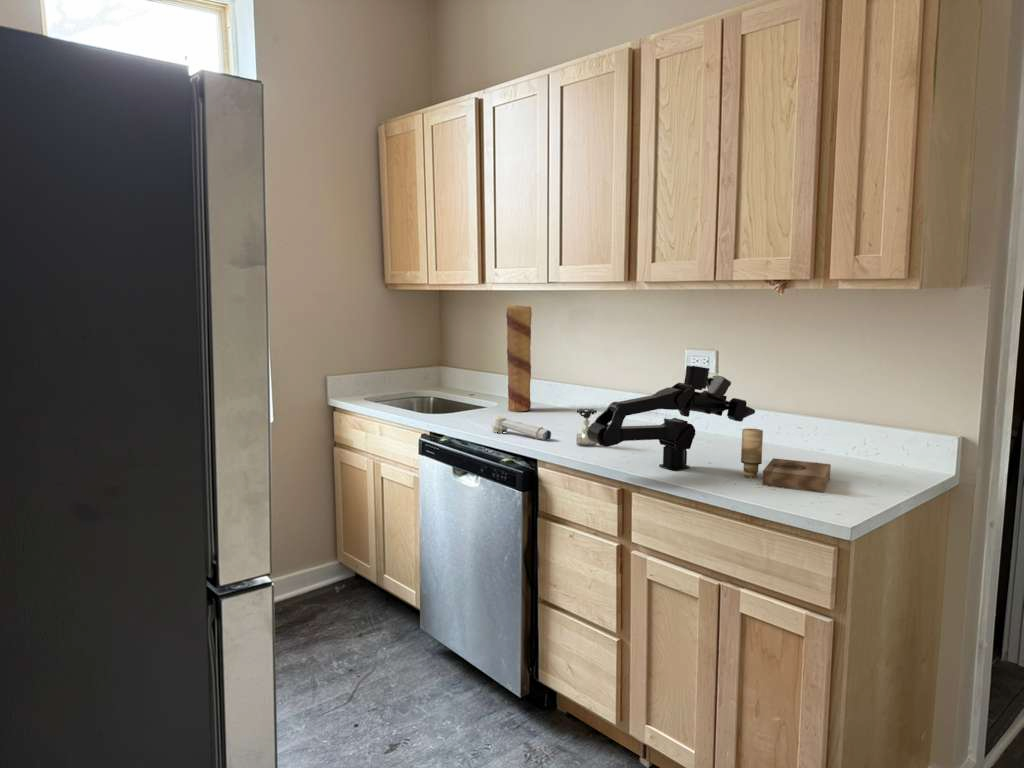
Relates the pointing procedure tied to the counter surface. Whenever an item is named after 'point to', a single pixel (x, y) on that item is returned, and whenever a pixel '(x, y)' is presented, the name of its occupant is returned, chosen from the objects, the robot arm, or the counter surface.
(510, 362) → the wafer roll
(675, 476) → the counter surface
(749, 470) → the dowel
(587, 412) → the valve
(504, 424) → the off-white plastic cylinder
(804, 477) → the seat block
